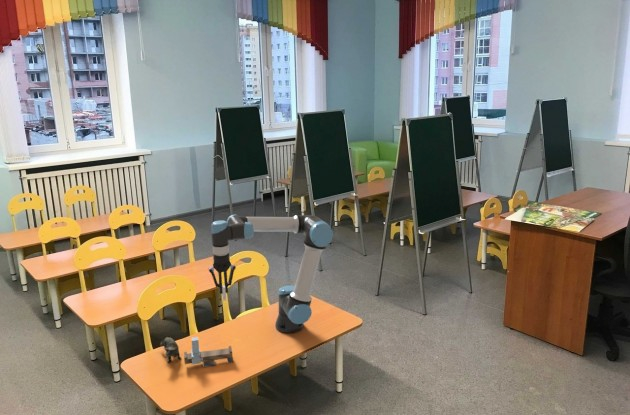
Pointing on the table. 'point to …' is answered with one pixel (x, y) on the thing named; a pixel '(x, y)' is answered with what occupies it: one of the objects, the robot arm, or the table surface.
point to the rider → (195, 351)
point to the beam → (211, 356)
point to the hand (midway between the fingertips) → (224, 299)
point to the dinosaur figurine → (170, 349)
